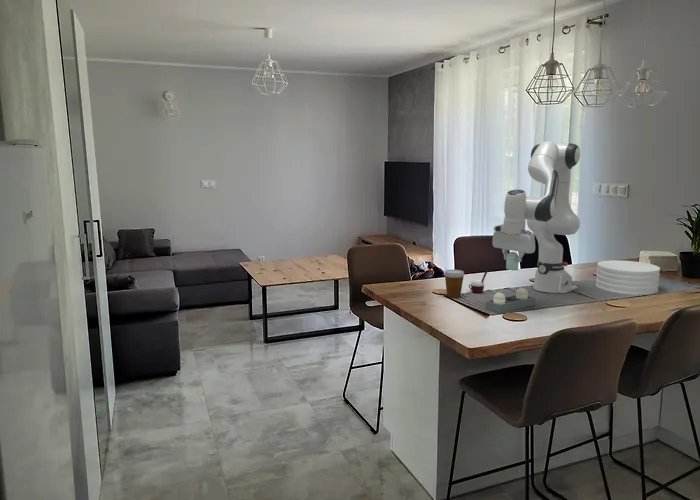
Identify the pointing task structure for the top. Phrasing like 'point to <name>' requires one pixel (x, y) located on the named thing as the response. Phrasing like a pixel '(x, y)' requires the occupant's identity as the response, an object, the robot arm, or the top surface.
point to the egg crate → (510, 304)
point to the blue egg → (512, 261)
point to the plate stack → (627, 277)
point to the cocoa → (478, 284)
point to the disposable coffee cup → (454, 282)
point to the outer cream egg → (499, 298)
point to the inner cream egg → (522, 293)
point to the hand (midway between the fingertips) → (512, 260)
